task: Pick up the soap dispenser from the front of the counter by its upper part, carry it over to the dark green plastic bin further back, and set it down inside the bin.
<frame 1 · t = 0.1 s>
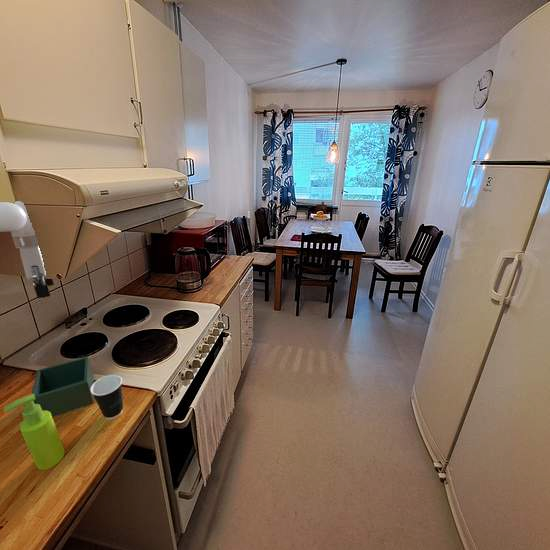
hand: (46, 291, 93), 30 cm above the worktop, tool pointing down, fingers open, 9 cm apart
dixie cup: (113, 413, 85), on the worktop
soap dispenser: (48, 460, 72), on the worktop
bin: (68, 396, 91), on the worktop
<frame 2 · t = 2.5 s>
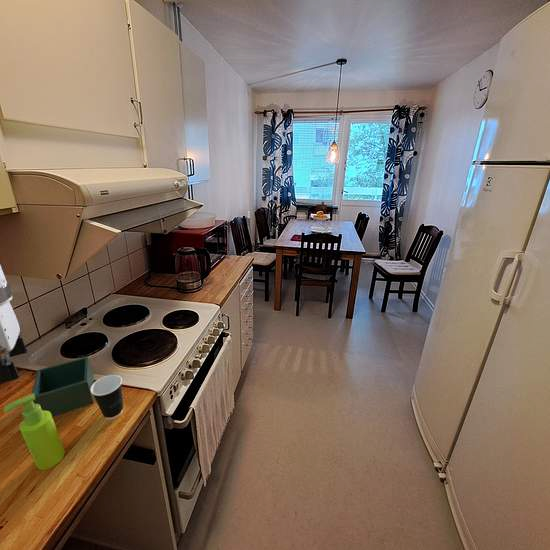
hand: (14, 366, 62), 28 cm above the worktop, tool pointing down, fingers open, 9 cm apart
nothing on the worktop moved.
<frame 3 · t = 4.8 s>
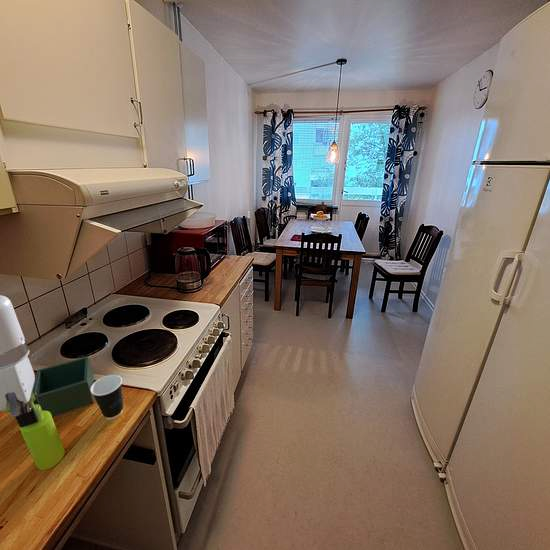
hand: (30, 416, 66), 15 cm above the worktop, tool pointing down, fingers closed on soap dispenser, 3 cm apart
soap dispenser: (48, 460, 72), on the worktop, touching gripper
everything else where it was.
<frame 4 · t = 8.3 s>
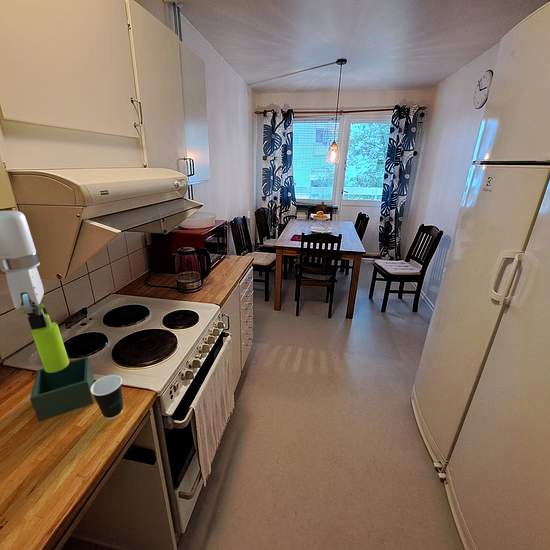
hand: (40, 323, 78), 28 cm above the worktop, tool pointing down, fingers closed on soap dispenser, 3 cm apart
soap dispenser: (55, 367, 84), point 14 cm above the worktop, touching gripper
everything else where it was.
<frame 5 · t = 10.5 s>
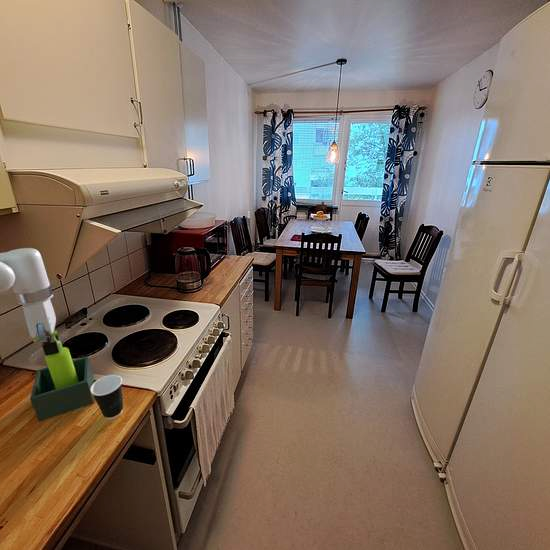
hand: (53, 349, 84), 18 cm above the worktop, tool pointing down, fingers closed on soap dispenser, 3 cm apart
soap dispenser: (66, 388, 89), point 3 cm above the worktop, touching gripper
everything else where it was.
when the fingers open (15 cm above the worktop, at t = 11.7 s): soap dispenser stays where it is, resting on bin.
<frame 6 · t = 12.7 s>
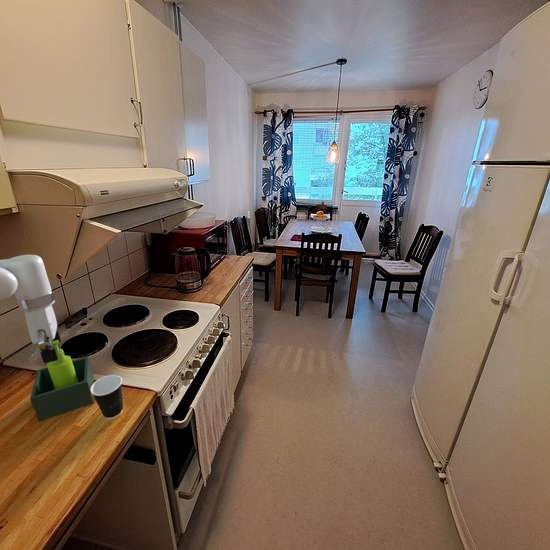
hand: (53, 351, 84), 18 cm above the worktop, tool pointing down, fingers open, 9 cm apart
soap dispenser: (68, 396, 91), resting on bin
everything else where it was.
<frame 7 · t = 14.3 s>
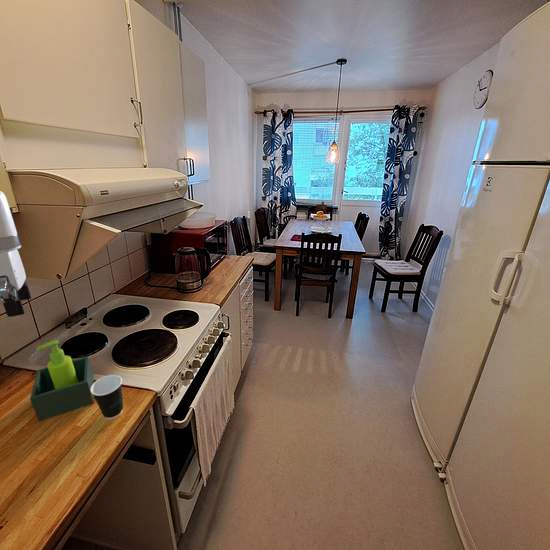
hand: (20, 307, 74), 35 cm above the worktop, tool pointing down, fingers open, 9 cm apart
nothing on the worktop moved.
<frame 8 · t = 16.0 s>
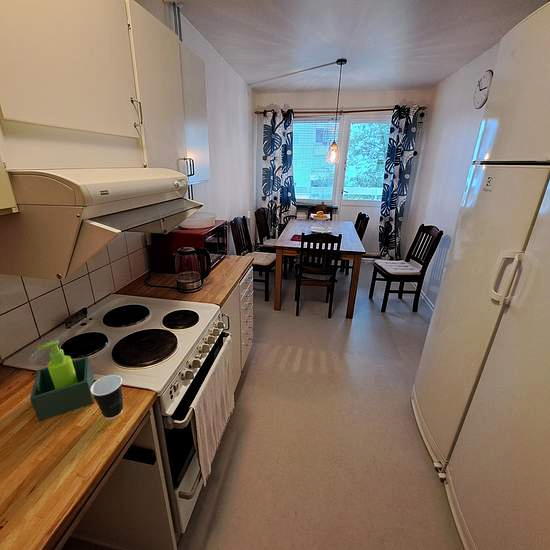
nothing on the worktop moved.
at the end: soap dispenser inside the target area in the bin (0.2 cm from its centre), point 0.4 cm above the bin's base; soap dispenser tilted 0°; the gripper is holding nothing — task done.
